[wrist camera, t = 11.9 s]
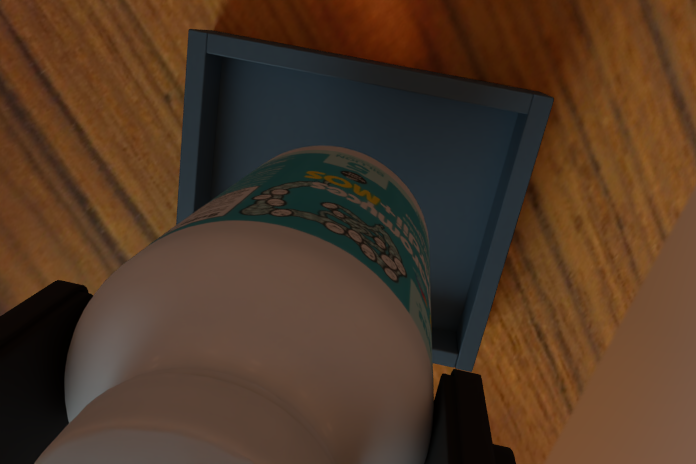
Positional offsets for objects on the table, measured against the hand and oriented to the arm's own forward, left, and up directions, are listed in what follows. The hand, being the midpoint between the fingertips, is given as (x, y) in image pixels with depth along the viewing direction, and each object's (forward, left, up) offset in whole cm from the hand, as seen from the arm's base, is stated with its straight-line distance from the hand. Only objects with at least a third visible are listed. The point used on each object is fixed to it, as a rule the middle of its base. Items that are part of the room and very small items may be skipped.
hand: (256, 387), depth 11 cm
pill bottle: (0, 0, -9) cm, 9 cm away
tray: (0, 0, -15) cm, 15 cm away
